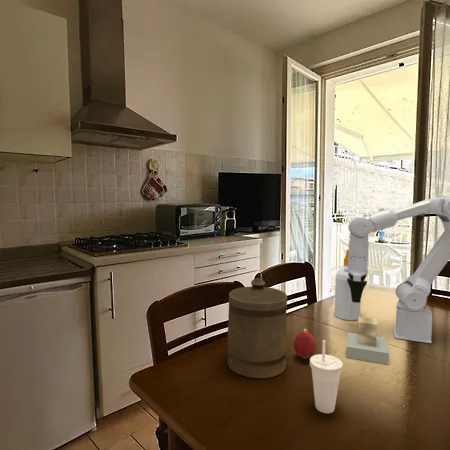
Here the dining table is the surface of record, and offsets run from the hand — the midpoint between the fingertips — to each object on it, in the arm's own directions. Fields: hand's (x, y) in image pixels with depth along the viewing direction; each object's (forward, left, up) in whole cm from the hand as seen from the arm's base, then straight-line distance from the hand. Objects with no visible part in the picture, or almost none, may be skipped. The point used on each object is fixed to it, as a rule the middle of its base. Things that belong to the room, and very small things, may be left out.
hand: (356, 298), depth 106 cm
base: (-3, +15, -10) cm, 19 cm away
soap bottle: (+3, -13, -11) cm, 17 cm away
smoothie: (+5, +44, -11) cm, 46 cm away
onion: (+12, +25, -11) cm, 30 cm away
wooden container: (+23, +32, -11) cm, 41 cm away
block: (-3, +15, -7) cm, 17 cm away
